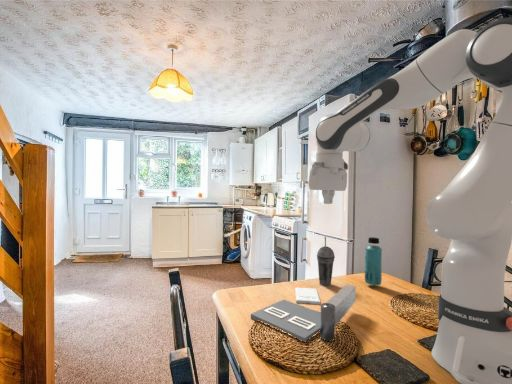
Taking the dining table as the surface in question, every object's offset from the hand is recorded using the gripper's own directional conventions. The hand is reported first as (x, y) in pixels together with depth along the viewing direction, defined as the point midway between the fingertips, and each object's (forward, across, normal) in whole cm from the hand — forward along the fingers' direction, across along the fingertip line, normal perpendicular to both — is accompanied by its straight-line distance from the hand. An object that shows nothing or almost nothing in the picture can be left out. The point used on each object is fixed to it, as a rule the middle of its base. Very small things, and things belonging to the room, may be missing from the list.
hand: (328, 203), depth 95 cm
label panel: (+34, -19, 0) cm, 39 cm away
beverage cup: (+34, +17, +10) cm, 40 cm away
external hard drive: (+35, 0, +8) cm, 36 cm away
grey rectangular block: (+34, -11, -10) cm, 37 cm away
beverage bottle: (+34, +29, -5) cm, 45 cm away
